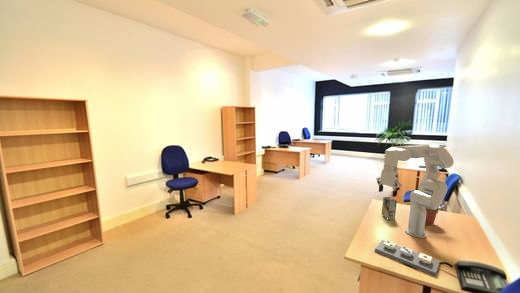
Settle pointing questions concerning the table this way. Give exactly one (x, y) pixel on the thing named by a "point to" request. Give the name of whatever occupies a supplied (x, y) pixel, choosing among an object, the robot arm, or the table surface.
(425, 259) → the tile
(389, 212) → the coffee box
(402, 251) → the white small block
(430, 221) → the potted plant
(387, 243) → the tile
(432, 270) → the keypad board
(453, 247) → the table surface
